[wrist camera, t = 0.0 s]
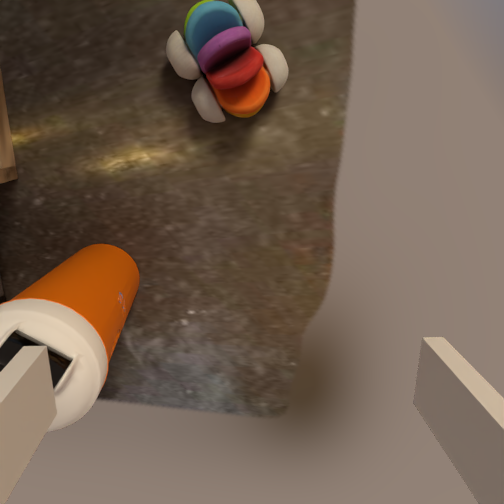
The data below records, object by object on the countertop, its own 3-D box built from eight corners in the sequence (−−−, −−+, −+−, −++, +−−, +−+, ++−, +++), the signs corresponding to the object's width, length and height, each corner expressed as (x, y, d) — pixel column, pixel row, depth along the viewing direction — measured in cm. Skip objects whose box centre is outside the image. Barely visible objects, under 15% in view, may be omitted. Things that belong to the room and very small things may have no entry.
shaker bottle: (46, 296, 43) (-96, 436, 24) (76, 218, 41) (-54, 305, 22) (130, 329, 45) (58, 484, 26) (163, 256, 43) (110, 367, 24)
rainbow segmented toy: (213, 137, 40) (210, 141, 33) (157, 36, 37) (141, 17, 30) (294, 91, 39) (308, 85, 32) (242, -17, 36) (246, -49, 29)
